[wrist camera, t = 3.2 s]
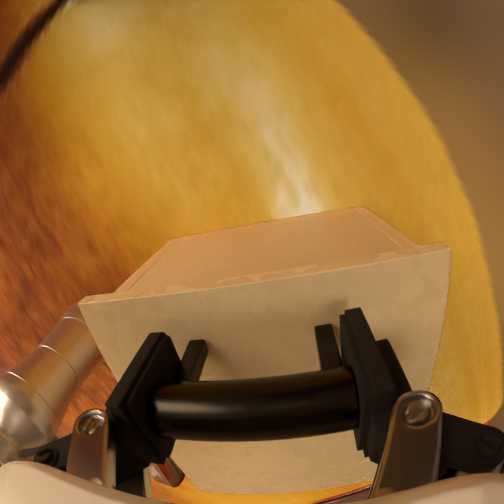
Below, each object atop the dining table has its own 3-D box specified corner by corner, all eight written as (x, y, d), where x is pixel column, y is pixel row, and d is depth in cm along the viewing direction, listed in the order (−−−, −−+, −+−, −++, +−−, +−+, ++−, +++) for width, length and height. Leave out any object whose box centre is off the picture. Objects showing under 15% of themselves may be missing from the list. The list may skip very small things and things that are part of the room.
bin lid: (86, 295, 12) (16, 361, 7) (442, 241, 10) (527, 304, 5) (201, 484, 18) (190, 533, 13) (394, 466, 16) (406, 518, 11)
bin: (171, 238, 24) (93, 311, 12) (364, 206, 21) (440, 261, 10) (222, 392, 29) (202, 483, 18) (367, 374, 27) (394, 466, 16)
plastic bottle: (136, 317, 27) (25, 478, 8) (115, 352, 29) (28, 487, 10) (88, 279, 26) (-49, 406, 7) (73, 318, 28) (-32, 434, 9)
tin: (193, 453, 35) (181, 496, 27) (174, 449, 35) (160, 491, 27) (172, 391, 30) (150, 446, 22) (148, 388, 30) (123, 439, 22)
